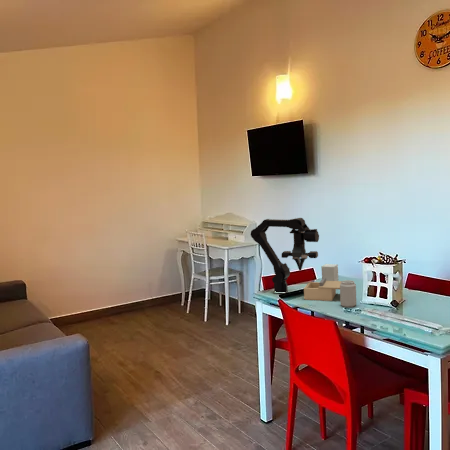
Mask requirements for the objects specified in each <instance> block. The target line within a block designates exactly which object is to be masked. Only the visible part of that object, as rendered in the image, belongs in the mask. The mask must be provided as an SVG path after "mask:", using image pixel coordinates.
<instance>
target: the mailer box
mask: <svg viewBox="0 0 450 450" xmlns="http://www.w3.org/2000/svg"><path fill="white" fill-rule="evenodd" d="M319 286H320V281H309V282H308V283H307V284H306V285H305V286H304V287H303V297H304V300H305V301H323V302H324V301H325V302H326V301H328V302H333V300H334V298H335V296H336V295H337V289H318V287H319Z"/></svg>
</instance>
